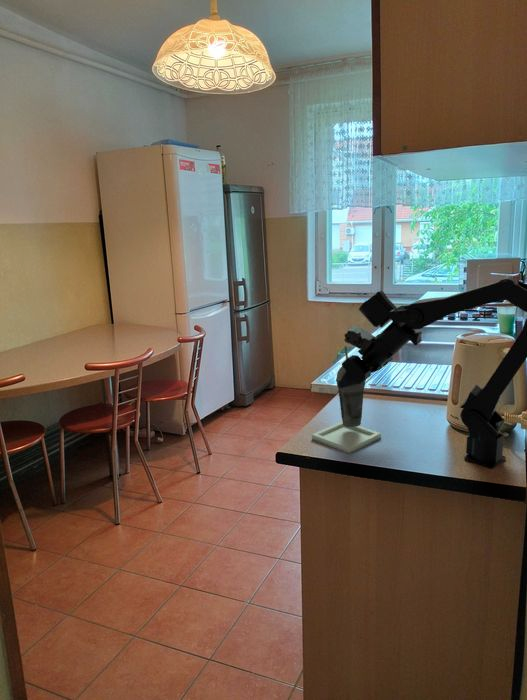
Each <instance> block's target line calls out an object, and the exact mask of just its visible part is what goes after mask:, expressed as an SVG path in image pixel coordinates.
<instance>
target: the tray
mask: <svg viewBox="0 0 527 700" xmlns="http://www.w3.org/2000/svg"><path fill="white" fill-rule="evenodd" d="M381 438H382V434H381V432H379V431H378V432H377V431H375V430H372V429H369V428H365V427H363V426H361V425H359V426H357V427H347V426H344V425H343V421H342V420H341V421H340V422H337V423H334V424H333V425H331V426H328V427H326V428H324V429H321V430H319V431H317V432H314V433H312V434H311V440H313V441H315V442H318V443H320V444H323V445H325V446H329V447H331V448H334V449H336V450H339V451H342V452H343V453H346V454H348V455H350V454H352V453H354V452H355V451H358V450H360V449H362V448H364V447H366V446H368V445H370V444H372V443H374V442H376V441H378V440H380V439H381Z"/></svg>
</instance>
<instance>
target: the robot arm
mask: <svg viewBox="0 0 527 700" xmlns="http://www.w3.org/2000/svg"><path fill="white" fill-rule="evenodd" d="M501 300H505V301H507V302H509V303H511V304H512V305H514V306H515V307H516V308H518V309H519V310H521V311H524V312H525V313H527V283H525V282H522V281H520V280H518V279H516V278H515V277H512V276H507V277H504V278H502V279H500V280H498V281H494V282H491V283H488V284H484V285H482V286H478V287H475V288H471V289H467V290H465V291H462V292H459V293H456V294H452V295H447V296H443V297H441V296H440V297H430V298H424V299H423V298H422V299H419V300H416V301H415V302H412V303H410V304H406V305H403V304H402V305H400V306H398V307H397V306H396V305H395V304H394V303H393V302H392V300H390V299H389V298H388V296H387V294H386V293H385V292H384V291H383V290H378V291H377V292H376V293H375V294H374V295H372V296H371V297H369V299H368V300H365V301H364V302H363V303H362V304H361V305H360V306H359V308H358V311H359V312H360V313H361V314H362V315H363V317H365V318H366V319H367V321H369V323H370V324H371V325H372V326H373V327H374V328H378V327H380V328H381V329H382V328H384V327H385V326H386V325H387V324H389V323H390V322H391V321H392V322H391V323H390V324H389V325H388V326H386V327H385V328H384V329H383V330H382V331H381V332H380V333H378V334H377V335H376V336H374V335H373V334H372V333H370V332H369V331H368V330H365V329H363V328H362V327H359V326H358V325H354V326H352V327H350V328H348V330H347V332H346V333H344V342H345V343H347V344H349V345H352V346H353V347H355V348H357V349H359V350H357V352H358V353H359V355H360V356H359V355H356V354H353V355H351V356H348V358H347V359H346V358H345V360H343V362H341V367H342V366H343V368H344V369H345V370H346V372H345V374H344V375H343V377H342V379H341V380H340V382H339V384H338V386H339V387H340V388H344V387H347V386H351V385H354V384H361V383H362V382H364V381H365V380H366V381H367V380H368V379H369V378H370V377H371V376H372V373H375V372H377V371H379V370H381V369H383V368H384V367H385V366H387V365H388V364H389V363H390V362H391V361H393V356H395V355H396V354H397V353H398V352H399V351H400V350H401V349H402V348H403V347H404V346H405V345H407V344H408V343H409V342H410V341H411V343H412V344H413V345H414V346H418V345H419V344H420V343H421V342H422V331H421V329H423V328H426V327H427V326H430V325H432V324H433V323H435V322H437V321H439V320H441V319H444V318H446V317H447V316H450V315H453V314H457V313H460V312H463V311H466V310H470V309H474V308H478V307H481V306H485V305H488V304H491V303H494V302H498V301H501ZM526 360H527V317H526V319H525V321H524V323H523V326H522V329H521V331H520V333H519V335H518V337H517V338H516V339H515V341H514V342H513V343H512V346H511V347H510V348H509V349H508V351H507V352H506V354H505V355H504V357H503V359H502V360H501V361H500V363H499V364H498V366H497V367H496V368H495V371H494V372H493V373H492V374H491V376H490V378H489V380H487V382H486V383H485V384H484V385H483V386H482V387H480V386H479V385H478V384H475V385H474V387H473V388H472V389H471V390H470V392H469V394H468V396H467V398H465V400H464V401H463V403H462V404H461V405H460V407H459V408H460V409H462V410H461V412H460V415H459V416H460V418H461V419H460V420H461V422H462V423H463V425H464V426H465V427H467V431H468V435H467V436H466V445H465V447H466V448H465V449H466V450H465V454H466V455H465V456H463V459H464V460H465V461H469V462H471V463H474V464H478V465H481V466H483V467H486V468H489V469H494V468H495V467H496V466H498V465H499V464H501V463H502V462H503V461H505V460H506V458H507V457H506V455H504V454H503V452H504V451H503V450H504V436H505V434H504V433H503V434H502V433H501V430H502V428H503V425H504V424H505V422H506V420H505V419H504V417H503V416H502V415H501V414H500V413H499V412H498V411H497V410H496V409H497V407H498V405H499V403H500V399H501V398H502V395H503V393H504V391H505V390H506V388H507V387H508V386H509V384H510V383H511V381H512V380H513V379H514V377H515V375H516V374H517V373H518V371H519V370H520V369H521V367H522V366H523V364H524V363H525V361H526ZM366 381H365V382H366ZM338 386H337V387H338Z"/></svg>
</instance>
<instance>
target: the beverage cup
mask: <svg viewBox="0 0 527 700" xmlns="http://www.w3.org/2000/svg"><path fill="white" fill-rule="evenodd" d="M343 348H344V353H345V360H346V359H347V358H349V356H348V348H347V346H346V345H344V347H343ZM345 372H346V370H345V369H344V368H343V366H342V365H341V367H339V369H338V371H337V372H336V378H335V382H336V387H337V389H338V397H339V407H340V413H341V415H340V416H341V422H342V421H343V425H344V426H347V427H357V426H361V424H362V417H363V416H362V415H363V403H364V394H365V393H364V391H365V386H366V381H367V379H366V380H365V381H364V382H362V383H361V384H354V385H351V386H347V387H344V388H340V387H339V386H338V384H339V382H340V380H341V379H342V377H343V375H344V374H345Z"/></svg>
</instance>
